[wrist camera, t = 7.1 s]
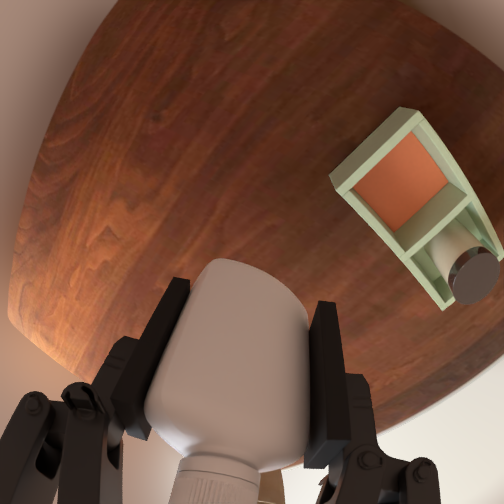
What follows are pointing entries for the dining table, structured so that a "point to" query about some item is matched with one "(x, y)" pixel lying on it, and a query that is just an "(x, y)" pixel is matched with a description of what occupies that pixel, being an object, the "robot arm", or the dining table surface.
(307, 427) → the eye dropper bottle
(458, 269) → the spice jar
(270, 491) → the plant pot
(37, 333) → the dining table surface
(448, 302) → the green divided tray
